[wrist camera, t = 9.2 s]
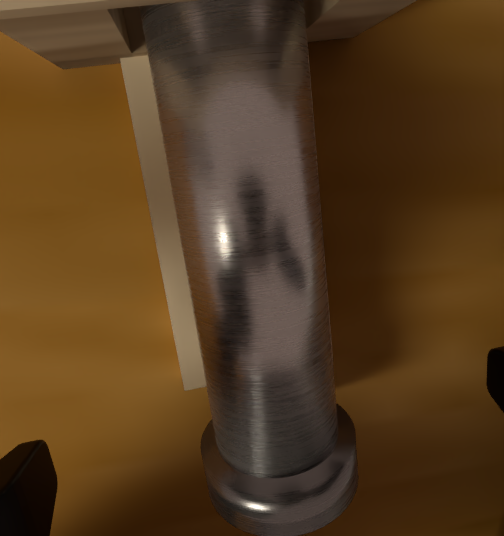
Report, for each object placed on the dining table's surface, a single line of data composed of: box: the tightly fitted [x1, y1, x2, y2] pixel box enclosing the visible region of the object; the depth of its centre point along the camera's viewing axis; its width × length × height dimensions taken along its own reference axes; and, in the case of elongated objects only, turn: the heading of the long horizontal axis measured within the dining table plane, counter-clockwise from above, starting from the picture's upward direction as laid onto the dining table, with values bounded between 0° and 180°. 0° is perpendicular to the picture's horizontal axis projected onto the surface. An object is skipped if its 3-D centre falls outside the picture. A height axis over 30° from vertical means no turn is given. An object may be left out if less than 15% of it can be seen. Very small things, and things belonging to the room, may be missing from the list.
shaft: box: [139, 0, 358, 536], centre depth 10 cm, size 12×4×4 cm, turn 7°
